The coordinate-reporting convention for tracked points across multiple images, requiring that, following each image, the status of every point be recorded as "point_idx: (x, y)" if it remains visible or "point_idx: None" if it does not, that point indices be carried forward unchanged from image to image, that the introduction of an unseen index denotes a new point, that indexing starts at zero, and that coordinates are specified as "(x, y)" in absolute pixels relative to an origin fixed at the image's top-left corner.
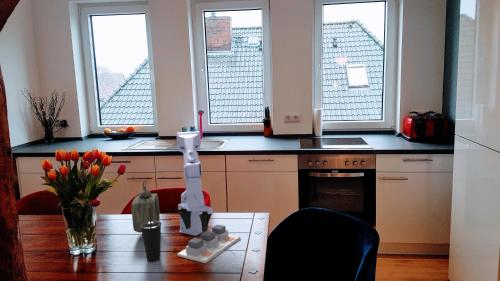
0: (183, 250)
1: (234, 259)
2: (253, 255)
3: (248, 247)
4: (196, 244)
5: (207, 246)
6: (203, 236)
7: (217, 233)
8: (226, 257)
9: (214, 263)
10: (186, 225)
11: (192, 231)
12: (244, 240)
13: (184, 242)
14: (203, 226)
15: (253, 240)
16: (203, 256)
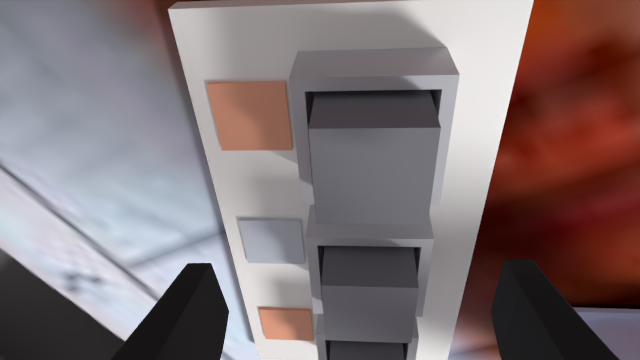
0: (506, 80)
1: (63, 155)
2: (32, 236)
3: (142, 293)
4: (313, 120)
5: None
6: (383, 275)
7: (353, 344)
8: (131, 156)
9: (113, 38)
10: (534, 311)
11: (596, 333)
12: (228, 339)
13: (594, 216)
14: (126, 340)
15: None
16: (245, 69)
